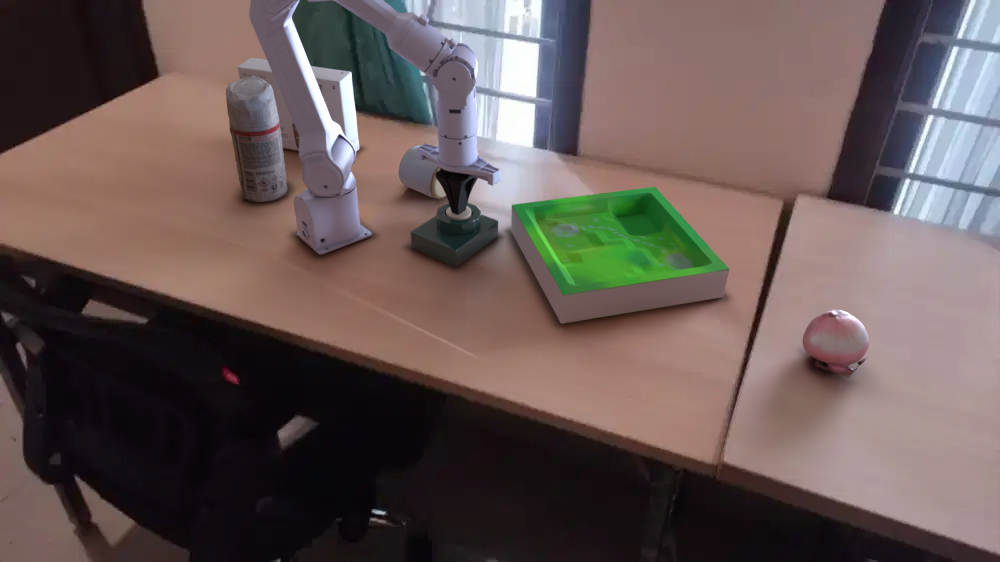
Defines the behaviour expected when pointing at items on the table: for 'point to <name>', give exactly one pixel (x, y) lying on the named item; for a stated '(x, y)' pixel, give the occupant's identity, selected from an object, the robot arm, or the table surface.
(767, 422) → the table surface
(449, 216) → the white push button
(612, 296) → the tray
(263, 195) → the spray can
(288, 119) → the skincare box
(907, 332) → the table surface
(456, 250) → the dark green button base
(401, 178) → the ceramic mug
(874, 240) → the table surface
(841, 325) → the onion
